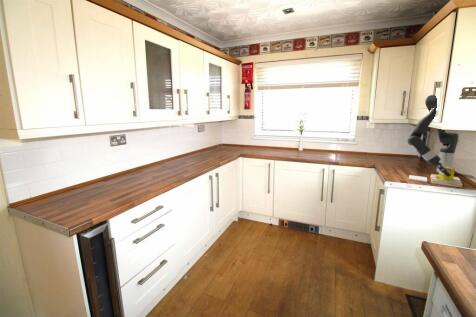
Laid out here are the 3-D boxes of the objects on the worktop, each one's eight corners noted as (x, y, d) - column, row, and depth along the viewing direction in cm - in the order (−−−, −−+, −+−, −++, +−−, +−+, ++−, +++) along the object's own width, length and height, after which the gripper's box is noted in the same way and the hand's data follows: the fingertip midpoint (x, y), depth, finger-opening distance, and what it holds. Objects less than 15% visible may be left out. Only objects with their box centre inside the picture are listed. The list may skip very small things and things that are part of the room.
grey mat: (409, 176, 187) (409, 175, 187) (426, 178, 181) (426, 177, 180) (408, 179, 178) (408, 178, 177) (427, 182, 171) (427, 181, 171)
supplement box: (452, 183, 169) (455, 168, 167) (443, 182, 170) (445, 168, 168) (446, 181, 174) (449, 166, 172) (437, 180, 175) (440, 166, 173)
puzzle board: (430, 177, 185) (430, 174, 184) (457, 180, 175) (458, 177, 175) (431, 183, 169) (432, 179, 168) (461, 187, 160) (462, 183, 159)
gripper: (436, 155, 167) (455, 173, 162) (435, 152, 178) (453, 169, 174) (426, 162, 171) (444, 179, 167) (425, 158, 182) (442, 175, 178)
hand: (448, 174), depth 170 cm, fingers closed on supplement box, 8 cm apart
